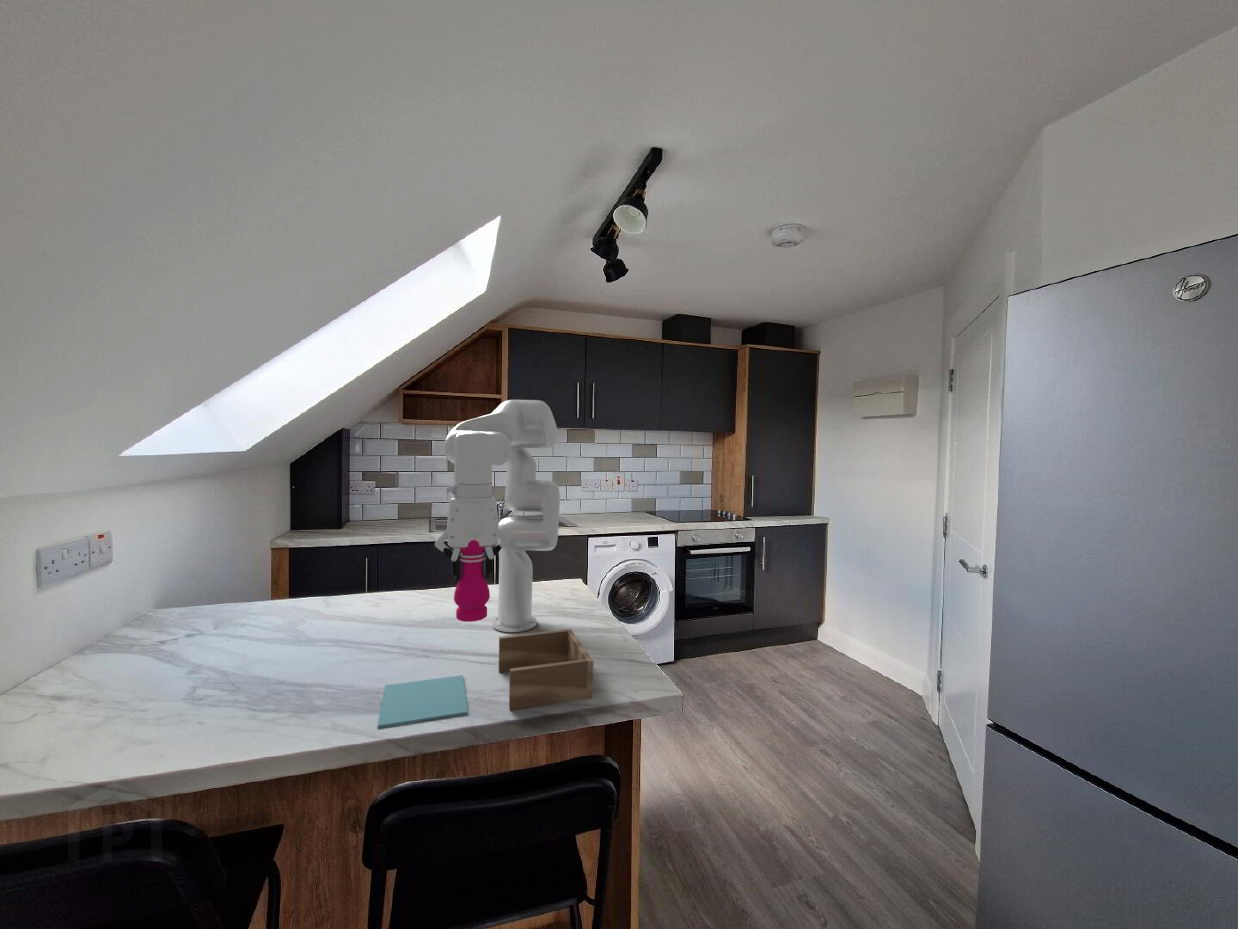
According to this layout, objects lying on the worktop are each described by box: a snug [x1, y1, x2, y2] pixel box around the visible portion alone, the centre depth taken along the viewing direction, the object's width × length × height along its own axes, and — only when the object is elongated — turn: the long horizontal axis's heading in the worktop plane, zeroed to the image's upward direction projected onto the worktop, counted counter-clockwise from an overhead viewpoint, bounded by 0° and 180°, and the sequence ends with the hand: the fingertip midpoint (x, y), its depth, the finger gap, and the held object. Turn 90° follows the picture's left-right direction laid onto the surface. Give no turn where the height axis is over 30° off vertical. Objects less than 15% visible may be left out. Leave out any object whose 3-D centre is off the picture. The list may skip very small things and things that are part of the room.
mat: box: [377, 674, 469, 729], centre depth 103 cm, size 16×16×1 cm
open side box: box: [498, 628, 594, 711], centre depth 112 cm, size 18×17×8 cm
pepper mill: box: [453, 540, 491, 623], centre depth 105 cm, size 7×7×20 cm
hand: (472, 576), depth 105 cm, fingers closed on pepper mill, 5 cm apart
